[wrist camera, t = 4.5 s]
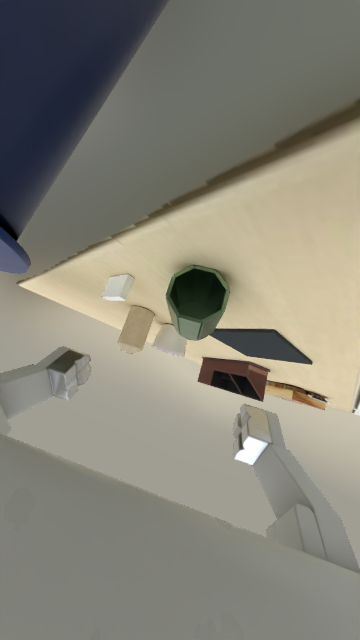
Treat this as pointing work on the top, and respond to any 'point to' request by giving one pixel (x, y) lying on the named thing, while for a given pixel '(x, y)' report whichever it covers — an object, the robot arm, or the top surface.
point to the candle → (135, 330)
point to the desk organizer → (235, 377)
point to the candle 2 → (170, 341)
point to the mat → (260, 344)
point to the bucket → (196, 301)
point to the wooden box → (295, 395)
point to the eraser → (118, 287)
